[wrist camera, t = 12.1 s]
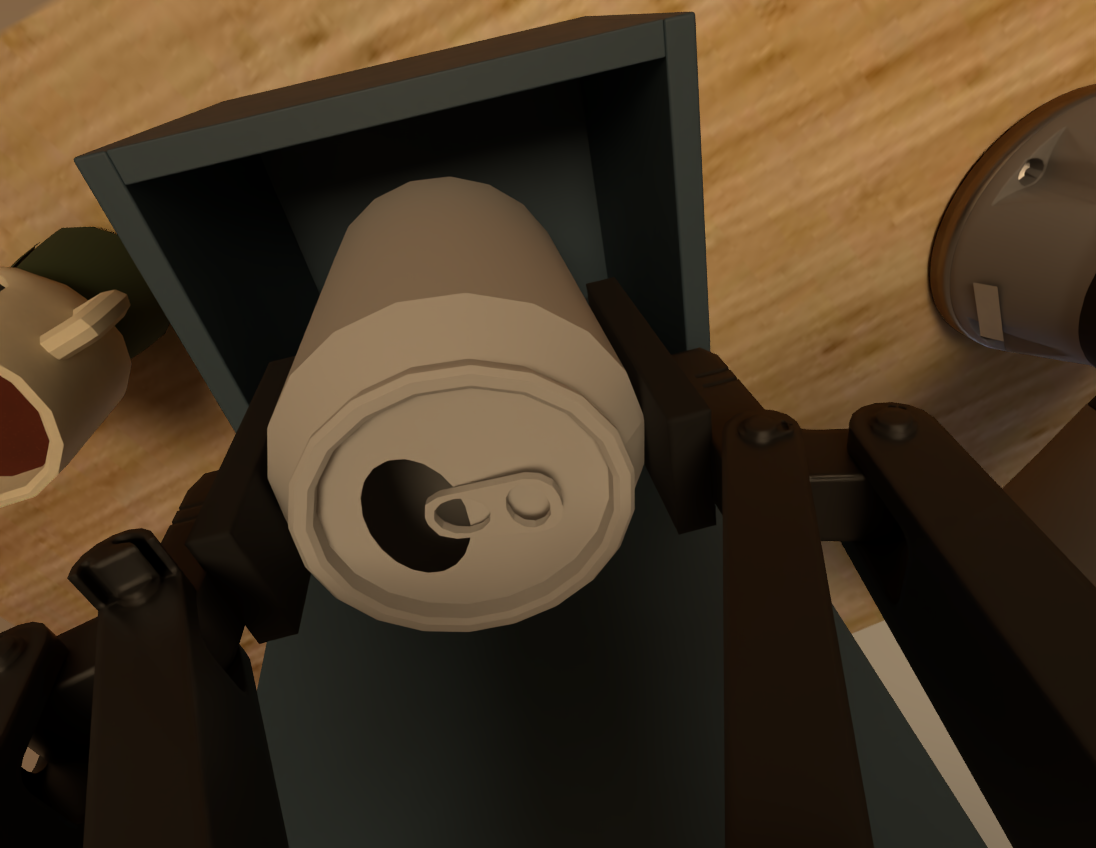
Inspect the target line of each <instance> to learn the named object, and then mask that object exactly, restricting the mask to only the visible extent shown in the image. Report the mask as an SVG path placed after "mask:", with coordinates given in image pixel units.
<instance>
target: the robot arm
mask: <svg viewBox="0 0 1096 848" xmlns="http://www.w3.org/2000/svg"><path fill="white" fill-rule="evenodd" d="M930 281H931V290H932V295H933V299H934V301H935V304H936V307H937V309H938V311H939V312H940V314H941V315H942V317H943V318H944V320H945V321H946V322H947V323H948V324H949V325H950V326H951V327H953V328H954V329H956V330H957V331H958V332H960V333H962V334H964V335H965V336H967V337H969V338H970V339H972V340H974V341H976V342H978V343H980V344H981V345H984V346H987V347H989V348H993V349H998V350H1002V351H1007V352H1013V353H1019V354H1025V355H1031V356H1037V357H1043V358H1049V359H1056V360H1062V361H1068V362H1074V363H1080V364H1086V365H1090V366H1093V367H1095V368H1096V84H1093V85H1089V86H1086V87H1082V88H1079V89H1076V90H1073V91H1071V92H1068V93H1066V94H1063V95H1061V96H1059V97H1057V98H1055V99H1053V100H1051V101H1049V102H1048V103H1046V104H1044V105H1043V106H1041V107H1039V108H1038V109H1036V110H1035V111H1033V112H1032V113H1030V114H1029V115H1027V116H1026V117H1025V118H1023V119H1022V120H1021V121H1019V122H1018V123H1017V124H1016V125H1014V126H1013V127H1012V128H1011V129H1009V130H1008V131H1007V132H1006V133H1005V134H1004V135H1003V136H1002V137H1001V138H1000V139H999V140H997V142H996V143H995V144H994V145H993V146H992V147H991V148H990V149H989V150H988V151H987V152H986V153H985V154H984V155H983V157H982V158H981V159H980V160H979V161H978V162H977V164H976V165H975V166H974V167H973V169H972V170H971V171H970V173H969V174H968V175H967V177H966V178H965V180H964V181H963V183H962V184H961V186H960V187H959V189H958V190H957V192H956V194H955V196H954V197H953V199H952V201H951V203H950V205H949V207H948V209H947V211H946V213H945V215H944V217H943V220H942V222H941V225H940V227H939V230H938V233H937V236H936V240H935V243H934V248H933V252H932V258H931V266H930ZM586 288H587V294H588V300H589V307H590V308H591V310H592V312H593V314H594V315H595V317H596V319H597V321H598V323H599V324H600V326H601V328H602V330H603V331H604V333H605V335H606V337H607V338H608V340H609V342H610V344H611V346H612V347H613V349H614V351H615V353H616V354H617V356H618V358H619V360H620V362H621V363H622V365H623V367H624V369H625V370H626V372H627V375H628V377H629V380H630V382H631V385H632V387H633V390H634V392H635V395H636V397H637V400H638V402H639V405H640V408H641V410H642V413H643V416H644V464H645V466H646V468H647V470H648V472H649V474H650V477H651V479H652V481H653V483H654V485H655V487H656V489H657V491H658V493H659V495H660V497H661V499H662V501H663V503H664V505H665V507H666V509H667V511H668V513H669V516H670V518H671V520H672V522H673V524H674V526H675V528H676V530H677V532H678V534H679V535H680V534H683V533H687V532H691V531H695V530H699V529H703V528H706V527H710V526H714V525H716V506H717V507H718V509H719V511H720V512H721V514H722V516H723V647H724V783H725V848H874V843H873V837H872V832H871V826H870V820H869V815H868V809H867V803H866V797H865V792H864V786H863V780H862V774H861V769H860V763H859V757H858V752H857V746H856V740H855V734H854V729H853V723H852V717H851V711H850V706H849V700H848V694H847V689H846V683H845V677H844V671H843V666H842V660H841V654H840V649H839V643H838V637H837V631H836V626H835V620H834V614H833V608H832V603H831V597H830V591H829V586H828V580H827V574H826V568H825V563H824V557H823V551H822V545H821V541H841V543H842V545H843V547H844V549H845V550H846V552H847V554H848V556H849V557H850V559H851V561H852V563H853V565H854V566H855V568H856V570H857V572H858V573H859V575H860V577H861V579H862V581H863V582H864V584H865V586H866V588H867V589H868V591H869V593H870V595H871V596H872V598H873V600H874V602H875V604H876V605H877V607H878V609H879V611H880V612H881V614H882V616H883V618H884V620H885V621H886V623H887V625H888V627H889V628H890V630H891V632H892V634H893V635H894V637H895V639H896V641H897V643H898V644H899V646H900V648H901V650H902V651H903V653H904V655H905V657H906V658H907V660H908V662H909V664H910V666H911V667H912V669H913V671H914V673H915V675H916V676H917V678H918V680H919V682H920V683H921V685H922V687H923V689H924V691H925V692H926V694H927V696H928V697H929V699H930V701H931V703H932V705H933V706H934V708H935V710H936V712H937V714H938V715H939V717H940V719H941V721H942V722H943V724H944V726H945V728H946V730H947V731H948V733H949V735H950V737H951V738H952V740H953V742H954V744H955V745H956V747H957V749H958V751H959V753H960V754H961V756H962V758H963V760H964V761H965V763H966V765H967V767H968V768H969V770H970V772H971V774H972V776H973V777H974V779H975V781H976V783H977V785H978V786H979V788H980V790H981V792H982V793H983V795H984V797H985V799H986V801H987V802H988V804H989V806H990V808H991V809H992V811H993V813H994V815H995V816H996V818H997V820H998V822H999V824H1000V825H1001V827H1002V829H1003V830H1004V832H1005V834H1006V836H1007V838H1008V840H1009V841H1010V843H1011V845H1012V847H1013V848H1096V396H1095V397H1094V398H1093V399H1092V400H1091V401H1090V402H1089V403H1088V404H1086V405H1085V406H1084V407H1083V408H1082V409H1081V410H1080V411H1079V412H1078V413H1077V414H1076V415H1075V416H1074V417H1073V418H1072V419H1071V420H1070V421H1069V422H1068V423H1067V424H1066V425H1065V426H1064V428H1063V429H1062V430H1061V431H1060V432H1059V433H1058V434H1057V435H1056V436H1055V437H1054V438H1053V439H1052V440H1051V441H1050V442H1049V443H1048V444H1047V445H1046V446H1045V447H1044V448H1043V449H1042V450H1041V451H1040V452H1039V453H1038V454H1037V455H1036V456H1035V457H1034V458H1033V459H1032V460H1031V461H1030V462H1029V463H1028V464H1027V465H1026V466H1025V467H1024V468H1023V469H1022V470H1021V471H1020V472H1019V473H1018V474H1017V475H1016V476H1015V477H1014V478H1013V479H1012V480H1011V481H1010V482H1009V483H1008V484H1007V485H1005V486H1004V487H1003V488H1001V487H1000V486H999V485H998V484H997V483H996V482H995V481H994V480H993V479H992V478H991V477H990V476H989V475H988V474H987V473H986V471H985V470H984V469H983V468H982V467H981V466H980V465H979V464H978V463H977V462H976V461H975V460H974V459H973V458H972V457H971V456H970V455H969V454H968V453H967V452H966V451H965V449H964V448H963V447H962V446H961V445H960V444H959V443H958V442H957V441H956V440H955V439H954V438H953V437H952V436H951V435H950V434H949V433H948V432H947V431H946V430H945V428H944V427H943V426H942V425H941V424H940V423H939V422H938V421H937V420H936V419H935V418H934V417H932V416H931V415H930V414H928V413H927V412H925V411H924V410H922V409H919V408H916V407H913V406H911V405H907V404H901V403H893V402H888V403H874V404H871V405H867V406H864V407H861V408H860V409H859V410H857V411H856V412H854V413H853V414H852V417H851V419H850V422H849V429H830V430H806V429H801V428H800V427H799V425H798V423H797V421H795V420H794V419H793V418H791V417H790V416H788V415H787V414H783V413H780V412H777V411H774V410H765V409H764V408H763V407H762V406H761V405H760V404H759V402H758V401H757V400H756V399H755V398H754V397H753V396H752V394H751V393H750V392H749V391H748V390H747V389H746V387H745V386H744V385H743V384H742V383H741V382H740V381H739V379H738V380H737V378H736V376H735V375H734V374H733V372H732V371H731V370H729V369H728V367H727V366H726V364H725V363H724V362H723V361H722V360H721V359H720V357H719V356H718V355H716V354H713V353H711V352H709V351H707V350H705V349H702V348H700V347H699V348H695V349H691V350H687V351H683V352H679V353H675V354H670V353H669V351H668V350H667V349H666V347H665V346H664V345H663V343H662V342H661V340H660V339H659V338H658V336H657V335H656V334H655V332H654V331H653V329H652V328H651V327H650V325H649V324H648V323H647V321H646V320H645V318H644V317H643V316H642V314H641V313H640V312H639V310H638V309H637V307H636V306H635V305H634V303H633V302H632V301H631V299H630V298H629V296H628V295H627V294H626V292H625V291H624V290H623V288H622V287H621V285H620V284H619V283H618V281H617V280H616V279H615V277H612V278H608V279H604V280H600V281H595V282H591V283H587V284H586ZM295 357H296V356H292V357H288V358H284V359H280V360H276V361H272V362H269V364H268V366H267V368H266V371H265V373H264V375H263V377H262V379H261V381H260V383H259V385H258V388H257V390H256V392H255V394H254V396H253V398H252V400H251V403H250V405H249V407H248V409H247V411H246V413H245V415H244V417H243V420H242V422H241V424H240V426H239V428H238V430H237V432H236V435H235V437H234V439H233V441H232V443H231V445H230V447H229V450H228V452H227V454H226V456H225V458H224V460H223V462H222V464H221V467H220V469H219V470H217V471H213V472H209V473H205V474H204V475H203V476H202V477H201V478H200V479H199V480H198V481H197V482H196V483H195V484H194V485H193V486H192V487H191V488H190V489H189V490H188V491H187V493H186V495H185V497H184V499H183V501H182V503H181V505H180V507H179V509H180V511H177V513H176V515H175V517H174V519H173V521H172V523H173V525H170V526H169V528H168V530H167V532H166V534H165V536H164V538H163V540H162V542H161V543H160V542H159V541H158V539H157V538H156V537H155V536H154V534H153V533H152V532H151V531H149V530H146V529H143V528H140V529H131V530H127V531H124V532H121V533H118V534H115V535H113V536H111V537H109V538H107V539H105V540H104V541H102V542H100V543H98V544H96V545H95V546H94V547H93V548H91V549H90V550H89V551H88V552H86V553H85V554H84V555H82V556H81V558H80V559H79V560H78V561H77V562H76V563H75V565H74V566H73V567H72V568H71V571H70V573H69V575H68V578H67V579H68V580H69V581H70V582H71V583H72V584H73V585H74V586H75V587H76V588H77V589H78V590H79V591H80V592H81V593H82V594H83V595H84V596H85V597H86V599H87V600H88V601H89V602H90V603H91V604H92V605H93V606H94V607H95V608H96V609H97V610H98V617H96V618H94V619H92V620H89V621H87V622H85V623H83V624H81V625H79V626H77V627H75V628H73V629H70V630H68V631H66V632H64V633H62V634H60V635H58V636H56V635H55V634H54V633H53V632H52V631H51V630H50V629H49V628H47V627H46V626H45V625H44V624H43V623H37V622H30V623H25V624H21V625H17V626H15V627H13V628H11V629H9V630H6V631H4V632H2V633H0V848H289V844H288V839H287V834H286V830H285V825H284V820H283V815H282V810H281V806H280V801H279V796H278V791H277V786H276V782H275V777H274V772H273V767H272V762H271V758H270V753H269V748H268V743H267V738H266V734H265V729H264V724H263V719H262V714H261V710H260V705H259V700H258V695H257V690H256V686H255V681H254V676H253V671H252V666H251V662H250V659H249V657H248V655H247V654H246V652H245V651H244V649H243V648H242V647H241V646H240V644H239V643H240V640H241V636H242V633H243V630H244V627H245V626H246V627H247V628H248V630H249V631H250V632H251V634H252V635H253V636H254V638H255V639H256V640H257V642H258V643H259V644H261V643H264V642H268V641H272V640H276V639H280V638H284V637H287V636H291V635H295V634H298V632H299V628H300V623H301V618H302V614H303V609H304V604H305V600H306V595H307V590H308V585H309V581H310V576H311V572H310V571H309V570H308V569H307V568H306V567H305V566H304V563H303V561H302V559H301V556H300V554H299V552H298V549H297V547H296V545H295V543H294V540H293V538H292V536H291V533H290V531H289V529H288V523H287V521H286V519H285V517H284V515H283V513H282V510H281V508H280V506H279V503H278V501H277V499H276V497H275V494H274V492H273V490H272V487H271V485H270V483H269V480H268V448H267V427H268V425H269V422H270V420H271V417H272V415H273V412H274V409H275V407H276V404H277V402H278V399H279V397H280V394H281V392H282V389H283V387H284V384H285V382H286V379H287V377H288V374H289V372H290V369H291V367H292V364H293V362H294V359H295ZM715 504H716V505H715ZM27 747H29V748H30V749H32V750H33V751H34V752H36V753H37V754H38V755H40V756H39V758H38V761H37V764H36V766H35V768H34V769H33V771H32V772H28V771H26V770H25V769H23V768H22V767H21V766H22V760H23V757H24V754H25V752H26V749H27Z"/></svg>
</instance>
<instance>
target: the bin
mask: <svg viewBox="0 0 1096 848" xmlns="http://www.w3.org/2000/svg"><path fill="white" fill-rule="evenodd" d="M74 162H75V164H76V166H77V167H78V169H79V171H80V172H81V174H82V176H83V177H84V179H85V181H86V182H87V184H88V186H89V187H90V189H91V191H92V192H93V194H94V196H95V197H96V199H97V201H98V203H99V204H100V206H101V208H102V209H103V211H104V213H105V214H106V216H107V218H108V219H109V221H110V223H111V224H112V226H113V228H114V229H115V231H116V233H117V234H118V236H119V238H120V239H121V241H122V243H123V244H124V246H125V248H126V250H127V251H128V253H129V255H130V256H131V258H132V260H133V261H134V263H135V265H136V266H137V268H138V270H139V271H140V273H141V275H142V276H143V278H144V280H145V281H146V283H147V285H148V286H149V288H150V290H151V292H152V293H153V295H154V297H155V298H156V300H157V302H158V303H159V305H160V307H161V308H162V310H163V312H164V313H165V315H166V317H167V318H168V320H169V322H170V323H171V325H172V327H173V328H174V330H175V332H176V334H177V335H178V337H179V339H180V340H181V342H182V344H183V345H184V347H185V349H186V350H187V352H188V354H189V355H190V357H191V359H192V360H193V362H194V364H195V365H196V367H197V369H198V370H199V372H200V374H201V376H202V377H203V379H204V381H205V382H206V384H207V386H208V387H209V389H210V391H211V392H212V394H213V396H214V397H215V399H216V401H217V402H218V404H219V406H220V407H221V409H222V411H223V412H224V414H225V416H226V418H227V419H228V421H229V423H230V424H231V426H232V428H233V429H234V431H235V433H236V432H237V430H238V428H239V426H240V424H241V422H242V420H243V417H244V415H245V413H246V411H247V409H248V407H249V405H250V403H251V400H252V398H253V396H254V394H255V392H256V390H257V388H258V385H259V383H260V381H261V379H262V377H263V375H264V373H265V371H266V368H267V366H268V364H269V362H272V361H276V360H280V359H284V358H288V357H292V356H296V354H297V352H298V349H299V347H300V344H301V342H302V339H303V337H304V334H305V332H306V329H307V327H308V324H309V322H310V319H311V317H312V314H313V311H314V309H315V306H316V304H317V301H318V299H319V296H320V294H321V291H322V289H323V286H324V284H325V281H326V279H327V276H328V274H329V271H330V269H331V266H332V264H333V261H334V259H335V257H336V254H337V252H338V250H339V247H340V245H341V243H342V240H343V238H344V235H345V233H346V231H347V228H348V226H349V225H350V224H351V223H352V222H353V221H354V220H355V219H356V218H357V217H358V216H359V215H360V214H361V213H362V212H363V211H364V210H365V209H366V208H367V206H368V205H369V204H370V203H371V202H372V201H373V200H374V199H376V198H378V197H380V196H382V195H384V194H386V193H388V192H390V191H392V190H394V189H396V188H398V187H400V186H402V185H404V184H406V183H408V182H410V181H417V180H425V179H434V178H442V177H455V178H460V179H465V180H469V181H474V182H479V183H484V184H489V185H491V186H492V187H494V188H496V189H498V190H499V191H501V192H503V193H504V194H506V195H508V196H510V197H511V198H513V199H515V200H516V201H518V202H520V203H522V204H523V205H524V206H525V207H526V208H527V209H528V211H529V212H530V213H531V214H532V215H533V216H534V217H535V219H536V220H537V221H538V222H539V223H540V224H541V225H542V226H543V228H544V229H545V230H546V231H547V232H548V234H549V236H550V237H551V239H552V241H553V243H554V245H555V246H556V248H557V250H558V252H559V253H560V255H561V257H562V259H563V260H564V262H565V264H566V266H567V268H568V269H569V271H570V273H571V275H572V276H573V278H574V280H575V282H576V284H577V285H578V287H579V289H580V291H581V292H582V294H583V296H584V298H585V299H586V301H587V303H588V305H589V300H588V294H587V288H586V284H587V283H591V282H595V281H600V280H604V279H608V278H612V277H615V279H616V280H617V281H618V283H619V284H620V285H621V287H622V288H623V290H624V291H625V292H626V294H627V295H628V296H629V298H630V299H631V301H632V302H633V303H634V305H635V306H636V307H637V309H638V310H639V312H640V313H641V314H642V316H643V317H644V318H645V320H646V321H647V323H648V324H649V325H650V327H651V328H652V329H653V331H654V332H655V334H656V335H657V336H658V338H659V339H660V340H661V342H662V343H663V345H664V346H665V347H666V349H667V350H668V351H669V353H670V354H675V353H679V352H683V351H687V350H691V349H695V348H699V347H700V348H702V349H705V350H707V351H709V352H710V332H709V310H708V288H707V266H706V243H705V221H704V199H703V177H702V155H701V133H700V111H699V89H698V67H697V45H696V23H695V13H694V12H674V13H652V14H629V15H607V16H584V17H580V18H576V19H572V20H567V21H563V22H559V23H555V24H550V25H546V26H542V27H538V28H533V29H529V30H525V31H521V32H516V33H512V34H508V35H504V36H499V37H495V38H491V39H487V40H482V41H478V42H474V43H470V44H465V45H461V46H457V47H453V48H448V49H444V50H440V51H436V52H431V53H427V54H423V55H419V56H414V57H410V58H406V59H402V60H397V61H393V62H389V63H385V64H380V65H376V66H372V67H368V68H363V69H359V70H355V71H351V72H346V73H342V74H338V75H334V76H329V77H325V78H321V79H317V80H312V81H308V82H304V83H300V84H295V85H291V86H287V87H283V88H278V89H274V90H270V91H266V92H261V93H257V94H253V95H249V96H244V97H240V98H236V99H231V100H227V101H223V102H220V103H218V104H215V105H212V106H210V107H207V108H205V109H202V110H199V111H197V112H194V113H191V114H189V115H186V116H183V117H181V118H178V119H175V120H173V121H170V122H167V123H165V124H162V125H159V126H157V127H154V128H152V129H149V130H146V131H144V132H141V133H138V134H136V135H133V136H130V137H128V138H125V139H122V140H120V141H117V142H114V143H112V144H109V145H106V146H104V147H101V148H99V149H96V150H93V151H91V152H88V153H85V154H83V155H80V156H77V157H75V158H74Z"/></svg>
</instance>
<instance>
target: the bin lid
mask: <svg viewBox="0 0 1096 848" xmlns="http://www.w3.org/2000/svg"><path fill="white" fill-rule="evenodd" d="M715 505H716V504H715ZM832 608H833V614H834V620H835V626H836V631H837V637H838V643H839V649H840V654H841V660H842V666H843V671H844V677H845V683H846V689H847V694H848V700H849V706H850V711H851V717H852V723H853V729H854V734H855V740H856V746H857V752H858V757H859V763H860V769H861V774H862V780H863V786H864V792H865V797H866V803H867V809H868V815H869V820H870V826H871V832H872V837H873V843H874V848H988V847H987V846H986V844H985V843H984V841H983V840H982V838H981V836H980V835H979V833H978V832H977V830H976V829H975V827H974V825H973V824H972V822H971V821H970V819H969V818H968V816H967V814H966V813H965V811H964V810H963V808H962V807H961V805H960V803H959V802H958V800H957V799H956V797H955V796H954V794H953V792H952V791H951V789H950V788H949V786H948V785H947V783H946V782H945V780H944V778H943V777H942V775H941V774H940V772H939V771H938V769H937V768H936V766H935V764H934V763H933V761H932V760H931V758H930V756H929V755H928V753H927V752H926V750H925V749H924V747H923V745H922V744H921V742H920V741H919V739H918V738H917V736H916V735H915V733H914V732H913V730H912V728H911V727H910V725H909V724H908V722H907V720H906V719H905V717H904V716H903V714H902V713H901V711H900V709H899V708H898V706H897V705H896V703H895V702H894V700H893V698H892V697H891V695H890V694H889V692H888V691H887V689H886V688H885V686H884V684H883V683H882V681H881V680H880V678H879V677H878V675H877V673H876V672H875V670H874V669H873V667H872V666H871V664H870V663H869V661H868V659H867V658H866V656H865V655H864V653H863V651H862V650H861V648H860V647H859V645H858V644H857V642H856V641H855V639H854V637H853V636H852V634H851V633H850V631H849V630H848V628H847V626H846V625H845V623H844V622H843V620H842V619H841V617H840V615H839V614H838V612H837V611H836V609H835V608H834V606H833V604H832ZM257 695H258V700H259V705H260V710H261V714H262V719H263V724H264V729H265V734H266V738H267V743H268V748H269V753H270V758H271V762H272V767H273V772H274V777H275V782H276V786H277V791H278V796H279V801H280V806H281V810H282V815H283V820H284V825H285V830H286V834H287V839H288V844H289V848H725V783H724V647H723V516H722V514H721V512H720V511H719V509H718V507H717V506H716V525H714V526H710V527H706V528H703V529H699V530H695V531H691V532H687V533H683V534H680V535H679V534H678V532H677V530H676V528H675V526H674V524H673V522H672V520H671V518H670V516H669V513H668V511H667V509H666V507H665V505H664V503H663V501H662V499H661V497H660V495H659V493H658V491H657V489H656V487H655V485H654V483H653V481H652V479H651V477H650V474H649V472H648V470H647V468H646V466H645V464H644V466H643V468H642V471H641V473H640V476H639V479H638V481H637V484H636V487H635V510H634V513H633V515H632V518H631V520H630V523H629V525H628V528H627V531H626V533H625V536H624V538H623V541H622V544H621V546H620V548H619V549H618V550H617V552H616V553H615V554H614V555H613V556H612V558H611V559H610V560H609V561H608V562H607V564H606V565H605V566H604V567H603V569H602V570H601V571H600V572H599V573H598V575H597V576H596V577H595V578H594V580H592V581H591V582H589V583H588V584H587V585H585V586H584V587H582V588H581V589H580V590H578V591H577V592H575V593H574V594H573V595H571V596H570V597H568V598H567V599H566V600H564V601H563V602H561V603H560V604H559V605H557V606H555V607H553V608H551V609H548V610H546V611H543V612H541V613H539V614H536V615H534V616H531V617H529V618H527V619H524V620H522V621H519V622H517V623H514V624H509V625H504V626H498V627H493V628H488V629H483V630H477V631H472V632H445V631H421V630H417V629H413V628H408V627H404V626H400V625H396V624H392V623H388V622H384V621H379V620H376V619H374V618H373V617H371V616H369V615H367V614H365V613H363V612H361V611H359V610H357V609H355V608H354V607H352V606H350V605H348V604H346V603H344V602H342V601H340V600H338V599H337V598H335V597H334V596H333V595H332V594H331V593H330V592H329V591H328V590H327V589H326V588H325V587H324V586H323V585H322V584H321V583H320V582H319V581H318V580H317V579H316V578H315V577H314V576H313V575H312V573H311V576H310V581H309V585H308V590H307V595H306V600H305V604H304V609H303V614H302V618H301V623H300V628H299V632H298V634H295V635H291V636H287V637H284V638H280V639H276V640H272V641H268V642H267V644H266V649H265V654H264V659H263V664H262V669H261V674H260V679H259V684H258V688H257Z"/></svg>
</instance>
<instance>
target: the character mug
mask: <svg viewBox="0 0 1096 848" xmlns="http://www.w3.org/2000/svg"><path fill="white" fill-rule="evenodd" d="M39 243H40V242H39ZM39 243H38V244H39ZM36 245H37V244H36ZM36 245H35V246H36ZM35 246H34V247H33V248H31V249H30V250H29V251H28V252H26V253H25V254H24V255H23V256H22V257H20V258H19V259H18V260H17V261H16V262H15V263H14V264H13V265H12V266H11V267H0V508H1V507H4V506H7V505H10V504H13V503H16V502H19V501H22V500H25V499H28V498H32V497H35V496H37V495H38V494H39V493H40V492H41V491H42V490H43V489H44V488H45V487H46V486H47V485H48V484H49V483H50V482H51V481H52V480H53V479H54V478H55V477H56V476H57V475H58V474H59V473H60V472H61V471H62V470H63V469H64V468H65V467H66V466H67V465H68V464H69V462H70V461H71V460H72V459H73V457H74V456H75V455H76V454H77V453H78V451H79V450H80V449H81V448H82V447H83V445H84V444H85V443H86V442H87V440H88V439H89V438H90V437H91V436H92V434H93V433H94V432H95V431H96V430H97V428H98V427H99V426H100V425H101V423H102V422H103V421H104V420H105V419H106V417H107V416H108V415H109V414H110V413H111V411H112V410H113V409H114V408H115V406H116V405H117V404H118V403H119V402H120V400H121V399H122V398H123V397H124V394H125V392H126V389H127V385H128V380H129V375H130V371H131V366H132V363H131V359H132V358H133V357H135V356H136V355H137V354H139V353H140V352H142V351H143V350H145V349H146V348H148V347H149V346H150V345H151V344H153V343H154V342H155V341H156V340H158V339H159V338H160V337H161V336H162V335H164V334H165V332H166V330H167V328H168V326H169V324H170V322H169V320H168V318H167V317H166V315H165V313H164V312H163V310H162V308H161V307H160V305H159V303H158V302H157V300H156V298H155V297H154V295H153V293H152V292H151V290H150V288H149V286H148V285H147V283H146V281H145V280H144V278H143V276H142V275H141V273H140V271H139V270H138V268H137V266H136V265H135V263H134V261H133V260H132V258H131V256H130V255H129V253H128V251H127V250H126V248H125V246H124V244H123V243H122V241H121V239H120V238H119V236H118V235H116V234H113V233H110V232H107V231H104V230H101V229H98V228H95V227H75V228H61V229H60V230H58V231H56V232H55V233H54V234H53V235H51V236H50V237H49V238H48V239H46V240H45V241H44V242H43V243H41V244H40V245H39V246H38V247H37V248H35Z"/></svg>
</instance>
